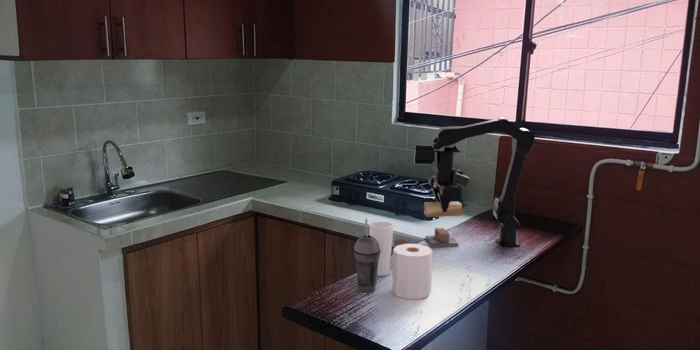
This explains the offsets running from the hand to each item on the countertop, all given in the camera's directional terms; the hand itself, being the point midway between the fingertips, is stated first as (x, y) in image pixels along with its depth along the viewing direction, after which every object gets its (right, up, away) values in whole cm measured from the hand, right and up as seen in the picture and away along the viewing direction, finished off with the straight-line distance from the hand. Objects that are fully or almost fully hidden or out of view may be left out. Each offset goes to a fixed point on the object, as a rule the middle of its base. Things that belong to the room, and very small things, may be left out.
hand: (442, 210), depth 195 cm
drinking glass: (-23, -17, -26) cm, 39 cm away
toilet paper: (-15, -20, -39) cm, 46 cm away
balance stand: (0, -11, +2) cm, 11 cm away
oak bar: (0, -2, 0) cm, 2 cm away
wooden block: (-16, -15, -17) cm, 28 cm away
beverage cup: (-27, -20, -39) cm, 51 cm away
